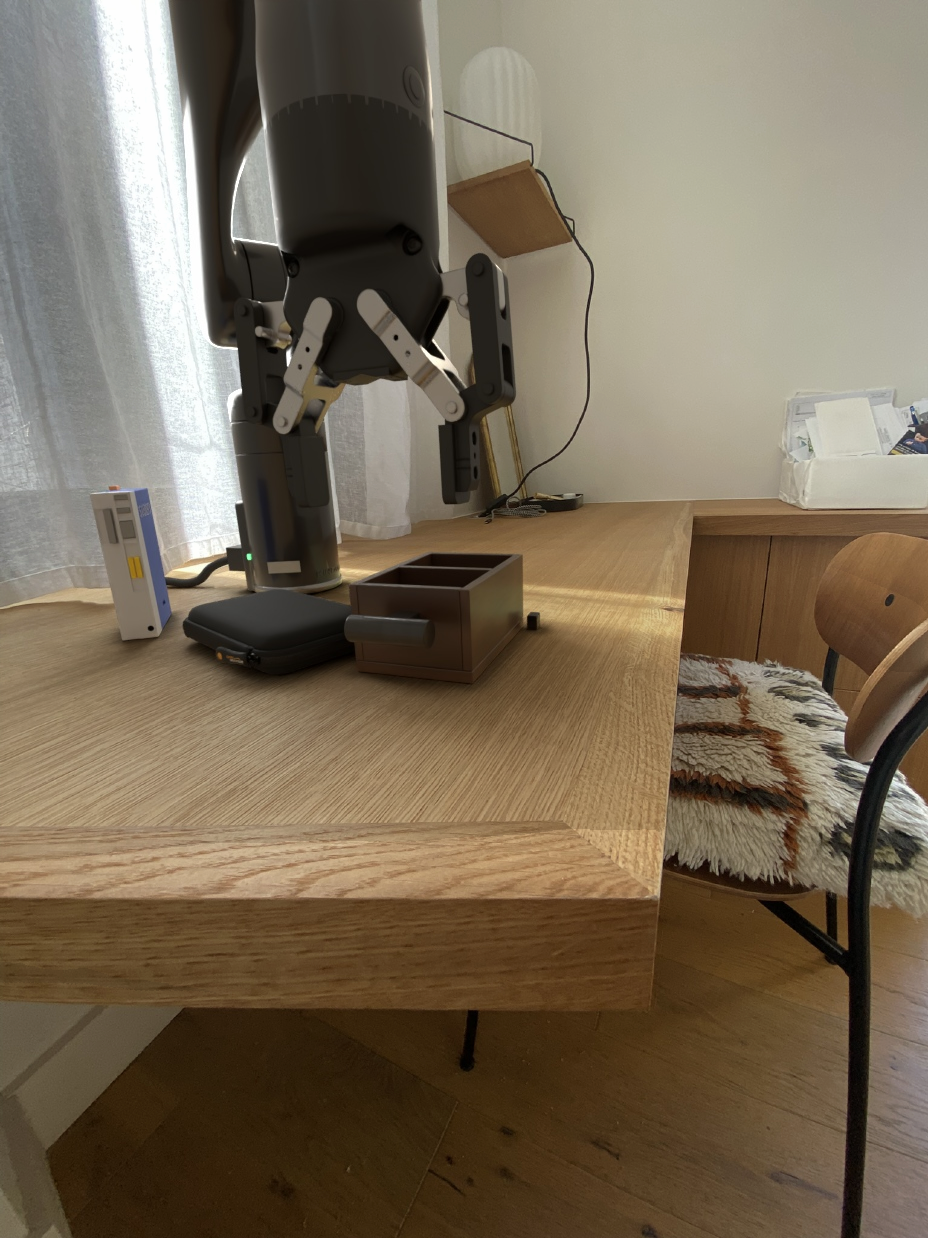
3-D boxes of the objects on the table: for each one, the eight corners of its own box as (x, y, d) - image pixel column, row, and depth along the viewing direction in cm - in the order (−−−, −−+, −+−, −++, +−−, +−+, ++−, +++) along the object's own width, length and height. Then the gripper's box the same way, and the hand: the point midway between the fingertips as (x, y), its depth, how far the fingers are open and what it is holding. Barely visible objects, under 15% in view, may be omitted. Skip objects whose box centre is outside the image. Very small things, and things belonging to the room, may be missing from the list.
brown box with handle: (453, 706, 30) (447, 604, 29) (328, 691, 33) (317, 596, 32) (523, 626, 44) (522, 553, 42) (431, 620, 47) (427, 551, 45)
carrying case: (163, 646, 43) (253, 694, 33) (155, 608, 42) (245, 646, 32) (287, 615, 50) (391, 647, 41) (283, 582, 50) (388, 607, 40)
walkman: (139, 617, 52) (111, 485, 49) (172, 613, 53) (146, 483, 49) (120, 641, 45) (85, 489, 41) (158, 637, 46) (128, 487, 42)
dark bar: (415, 622, 47) (414, 608, 46) (421, 618, 48) (420, 605, 47) (536, 631, 43) (536, 616, 43) (540, 626, 44) (540, 612, 44)
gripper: (526, 141, 26) (530, 497, 30) (275, 204, 31) (310, 502, 35) (472, 33, 19) (487, 510, 24) (163, 135, 24) (223, 514, 29)
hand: (381, 505), depth 29 cm, fingers open, 8 cm apart
